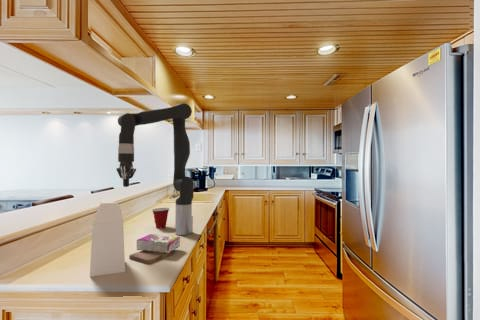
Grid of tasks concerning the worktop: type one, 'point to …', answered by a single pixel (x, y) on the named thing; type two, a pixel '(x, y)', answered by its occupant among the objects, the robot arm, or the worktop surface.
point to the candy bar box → (158, 243)
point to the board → (149, 256)
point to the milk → (107, 241)
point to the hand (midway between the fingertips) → (125, 186)
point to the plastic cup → (160, 217)
